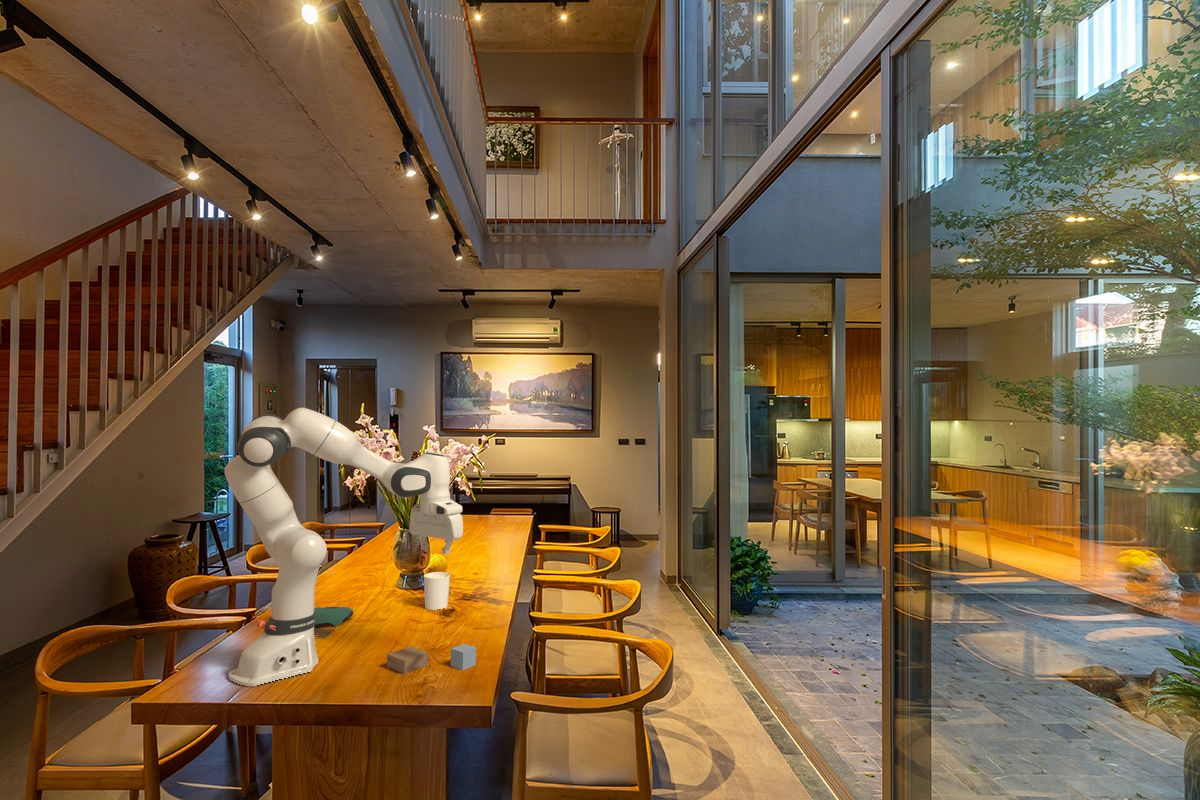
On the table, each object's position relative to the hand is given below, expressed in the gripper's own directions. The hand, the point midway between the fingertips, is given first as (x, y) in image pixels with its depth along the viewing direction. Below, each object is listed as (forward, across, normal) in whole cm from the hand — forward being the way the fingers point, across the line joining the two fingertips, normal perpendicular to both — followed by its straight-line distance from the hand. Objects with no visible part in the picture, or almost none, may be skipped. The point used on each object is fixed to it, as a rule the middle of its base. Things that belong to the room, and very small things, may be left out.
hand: (435, 551), depth 189 cm
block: (+31, +14, -2) cm, 34 cm away
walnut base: (+30, +2, -12) cm, 33 cm away
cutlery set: (+31, -53, -5) cm, 62 cm away
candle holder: (+31, -37, +33) cm, 58 cm away
